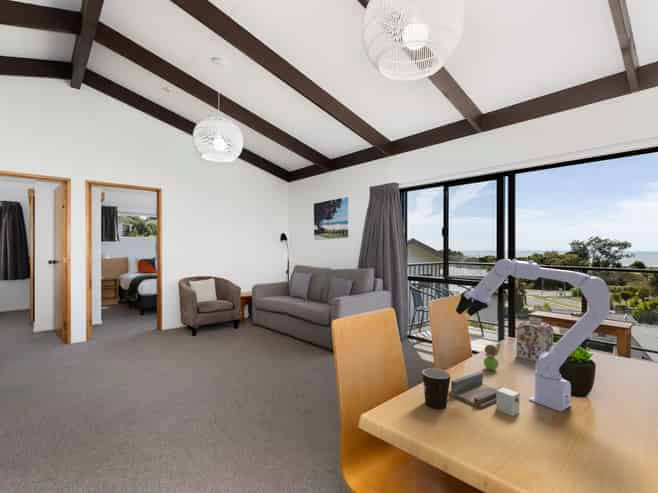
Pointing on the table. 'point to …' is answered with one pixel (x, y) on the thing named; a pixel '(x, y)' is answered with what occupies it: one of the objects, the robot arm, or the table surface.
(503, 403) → the cabinet block
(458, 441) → the table surface
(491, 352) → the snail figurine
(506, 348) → the table surface
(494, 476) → the table surface
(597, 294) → the robot arm
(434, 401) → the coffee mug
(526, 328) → the decorative jar
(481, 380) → the cleat board
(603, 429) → the table surface
